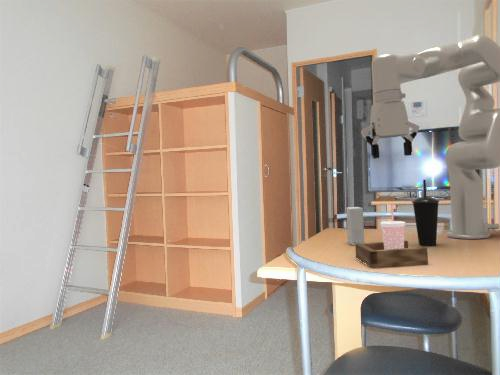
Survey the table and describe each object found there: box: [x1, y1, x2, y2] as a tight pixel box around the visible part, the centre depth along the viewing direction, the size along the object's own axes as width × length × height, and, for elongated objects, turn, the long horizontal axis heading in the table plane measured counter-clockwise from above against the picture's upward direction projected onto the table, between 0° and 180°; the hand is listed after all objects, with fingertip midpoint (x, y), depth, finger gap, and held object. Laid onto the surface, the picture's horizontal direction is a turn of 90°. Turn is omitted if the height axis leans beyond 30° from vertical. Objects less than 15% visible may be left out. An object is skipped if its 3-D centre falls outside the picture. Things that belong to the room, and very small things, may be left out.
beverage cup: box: [379, 202, 406, 250], centre depth 102 cm, size 6×6×14 cm
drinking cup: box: [411, 179, 440, 247], centre depth 120 cm, size 8×8×20 cm
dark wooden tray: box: [354, 240, 429, 269], centre depth 102 cm, size 14×12×4 cm
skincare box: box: [345, 206, 366, 246], centre depth 129 cm, size 6×4×12 cm
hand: (392, 156), depth 116 cm, fingers open, 9 cm apart
